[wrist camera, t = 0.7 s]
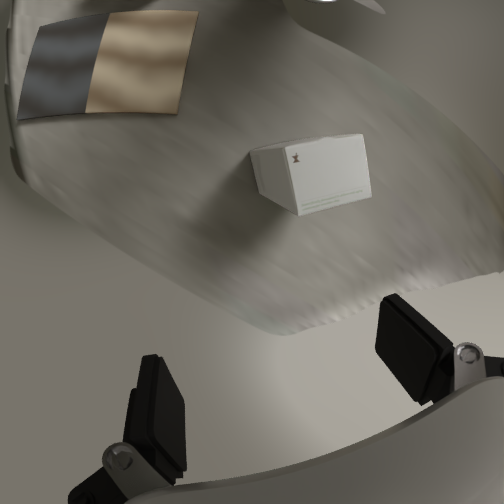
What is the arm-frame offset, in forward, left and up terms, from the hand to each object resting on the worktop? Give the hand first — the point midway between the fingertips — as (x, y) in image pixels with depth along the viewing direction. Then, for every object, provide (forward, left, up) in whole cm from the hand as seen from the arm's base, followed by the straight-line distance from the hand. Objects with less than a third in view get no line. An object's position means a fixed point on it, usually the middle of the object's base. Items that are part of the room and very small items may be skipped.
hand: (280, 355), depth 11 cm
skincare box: (-7, +7, -30) cm, 32 cm away
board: (-20, -21, -30) cm, 41 cm away
